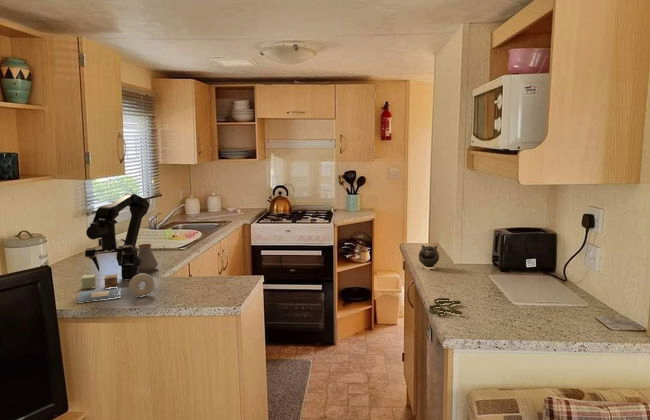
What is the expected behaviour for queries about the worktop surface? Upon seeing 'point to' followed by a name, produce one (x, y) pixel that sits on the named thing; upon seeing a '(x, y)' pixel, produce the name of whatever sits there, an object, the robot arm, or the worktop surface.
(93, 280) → the sage cube
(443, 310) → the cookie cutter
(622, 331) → the worktop surface
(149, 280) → the donut
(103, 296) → the board
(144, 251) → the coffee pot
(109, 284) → the walnut cube
